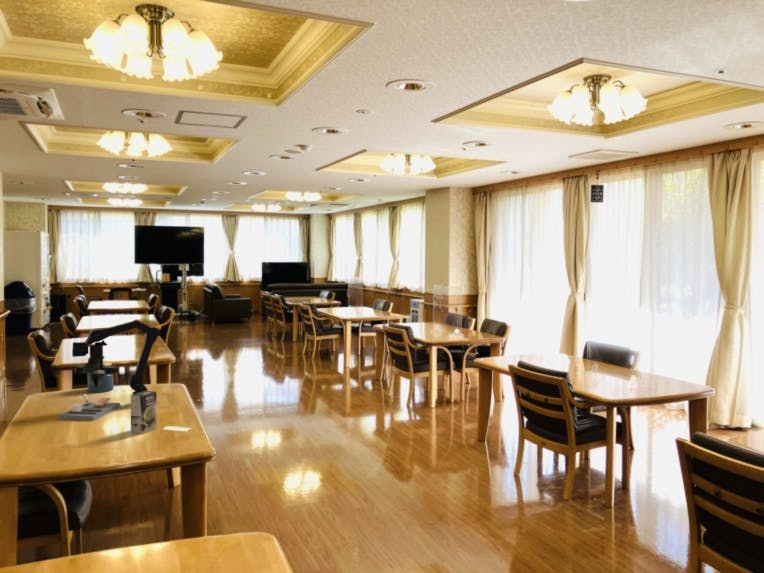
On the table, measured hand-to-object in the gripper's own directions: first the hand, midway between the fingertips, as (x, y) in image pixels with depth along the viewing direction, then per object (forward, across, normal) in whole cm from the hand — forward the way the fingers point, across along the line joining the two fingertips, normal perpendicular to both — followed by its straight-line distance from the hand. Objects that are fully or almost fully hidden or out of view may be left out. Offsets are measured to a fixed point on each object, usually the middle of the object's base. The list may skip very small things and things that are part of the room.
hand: (97, 387), depth 283 cm
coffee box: (+11, +37, -30) cm, 49 cm away
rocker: (+7, +3, -1) cm, 8 cm away
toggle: (+8, -4, -1) cm, 9 cm away
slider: (+9, -3, -13) cm, 16 cm away
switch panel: (+11, +1, -7) cm, 13 cm away
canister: (+11, -18, +37) cm, 42 cm away
